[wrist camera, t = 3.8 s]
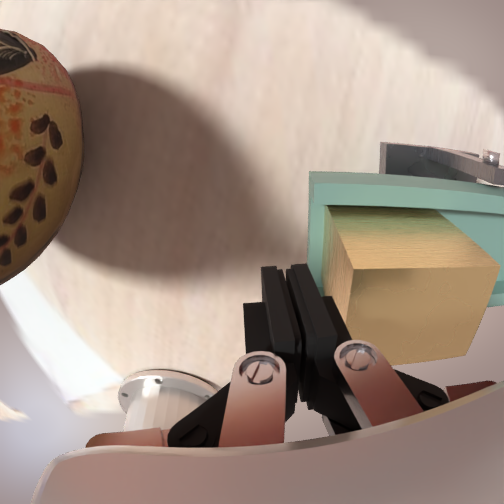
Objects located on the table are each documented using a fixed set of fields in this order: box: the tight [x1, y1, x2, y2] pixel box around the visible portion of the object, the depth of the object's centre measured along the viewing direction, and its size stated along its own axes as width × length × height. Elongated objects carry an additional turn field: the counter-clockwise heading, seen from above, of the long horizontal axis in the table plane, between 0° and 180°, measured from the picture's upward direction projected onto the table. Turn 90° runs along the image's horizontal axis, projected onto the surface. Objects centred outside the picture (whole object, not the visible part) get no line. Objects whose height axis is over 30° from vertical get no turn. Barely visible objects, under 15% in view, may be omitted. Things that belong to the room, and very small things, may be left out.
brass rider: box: [321, 205, 501, 366], centre depth 12 cm, size 4×6×7 cm
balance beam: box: [307, 171, 504, 307], centre depth 14 cm, size 7×24×4 cm, turn 93°
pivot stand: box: [379, 142, 504, 185], centre depth 18 cm, size 12×10×8 cm
